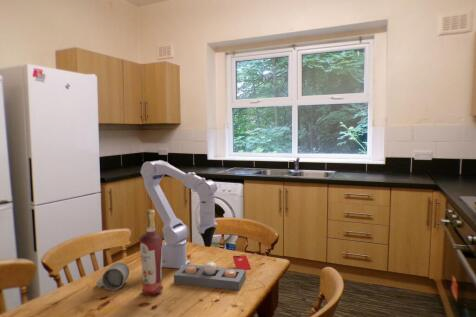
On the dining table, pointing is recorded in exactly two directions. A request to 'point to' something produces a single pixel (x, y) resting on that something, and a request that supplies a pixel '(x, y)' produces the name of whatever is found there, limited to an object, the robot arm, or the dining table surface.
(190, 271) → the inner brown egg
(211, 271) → the white egg
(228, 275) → the light brown oval
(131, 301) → the dining table surface
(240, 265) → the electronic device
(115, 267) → the ceramic mug
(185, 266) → the grey egg tray
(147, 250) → the liquor
